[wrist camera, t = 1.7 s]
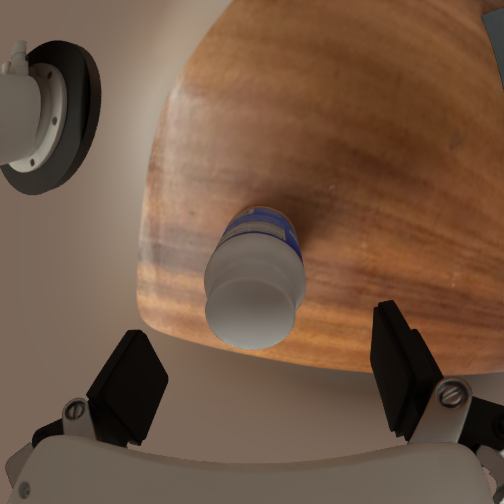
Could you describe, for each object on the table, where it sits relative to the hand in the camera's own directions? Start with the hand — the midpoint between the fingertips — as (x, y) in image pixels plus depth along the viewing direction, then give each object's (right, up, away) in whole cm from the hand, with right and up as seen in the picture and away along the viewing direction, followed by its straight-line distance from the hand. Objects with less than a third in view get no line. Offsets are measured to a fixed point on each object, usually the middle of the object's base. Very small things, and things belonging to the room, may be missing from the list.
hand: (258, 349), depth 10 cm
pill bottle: (0, +5, +11) cm, 12 cm away
